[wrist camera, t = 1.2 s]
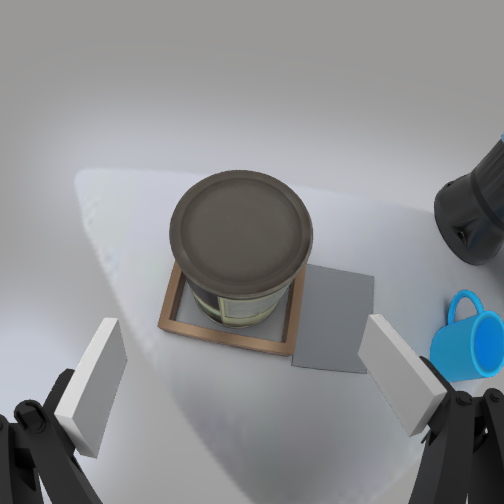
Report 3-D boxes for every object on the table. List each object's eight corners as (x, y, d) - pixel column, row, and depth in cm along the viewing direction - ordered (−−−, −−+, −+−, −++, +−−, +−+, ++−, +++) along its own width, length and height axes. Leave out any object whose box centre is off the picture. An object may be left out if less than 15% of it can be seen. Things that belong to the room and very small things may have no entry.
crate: (304, 242, 36) (309, 231, 33) (288, 356, 30) (293, 354, 28) (193, 221, 36) (191, 208, 33) (163, 330, 31) (157, 326, 28)
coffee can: (179, 311, 32) (145, 267, 19) (211, 233, 36) (202, 156, 23) (267, 341, 31) (293, 318, 18) (292, 259, 35) (325, 192, 22)
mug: (470, 375, 30) (509, 368, 22) (431, 387, 29) (472, 385, 22) (461, 297, 35) (497, 278, 27) (423, 300, 34) (460, 281, 27)
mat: (372, 278, 35) (374, 276, 34) (365, 373, 30) (366, 373, 29) (305, 265, 35) (306, 263, 34) (291, 365, 30) (292, 365, 30)
